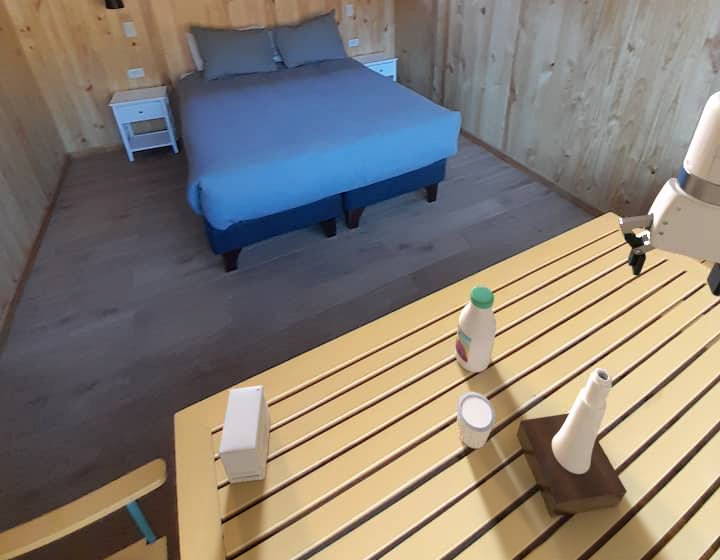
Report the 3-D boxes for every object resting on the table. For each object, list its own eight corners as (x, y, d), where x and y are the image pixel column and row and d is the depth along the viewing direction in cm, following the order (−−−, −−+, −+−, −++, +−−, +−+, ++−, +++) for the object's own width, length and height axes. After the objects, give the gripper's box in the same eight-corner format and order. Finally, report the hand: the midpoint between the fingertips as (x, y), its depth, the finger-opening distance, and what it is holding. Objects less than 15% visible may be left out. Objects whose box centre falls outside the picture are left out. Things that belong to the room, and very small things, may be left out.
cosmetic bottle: (594, 479, 66) (633, 401, 56) (554, 468, 67) (585, 390, 57) (585, 438, 71) (620, 360, 61) (549, 429, 72) (576, 351, 62)
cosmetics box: (238, 419, 79) (229, 387, 74) (271, 415, 80) (264, 384, 75) (227, 484, 70) (216, 453, 65) (264, 480, 70) (256, 448, 66)
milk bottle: (489, 345, 92) (501, 283, 83) (489, 377, 86) (503, 314, 76) (455, 337, 94) (463, 275, 85) (453, 368, 87) (461, 305, 78)
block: (575, 426, 77) (581, 411, 75) (618, 505, 66) (627, 491, 64) (516, 435, 76) (520, 420, 74) (550, 517, 65) (556, 503, 63)
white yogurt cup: (446, 431, 77) (449, 410, 73) (466, 404, 81) (469, 383, 78) (478, 461, 72) (483, 441, 69) (497, 431, 77) (502, 410, 73)
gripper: (788, 182, 52) (736, 277, 60) (632, 157, 58) (604, 246, 66) (818, 217, 46) (756, 318, 53) (640, 185, 52) (608, 279, 60)
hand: (672, 278), depth 60 cm, fingers open, 9 cm apart
